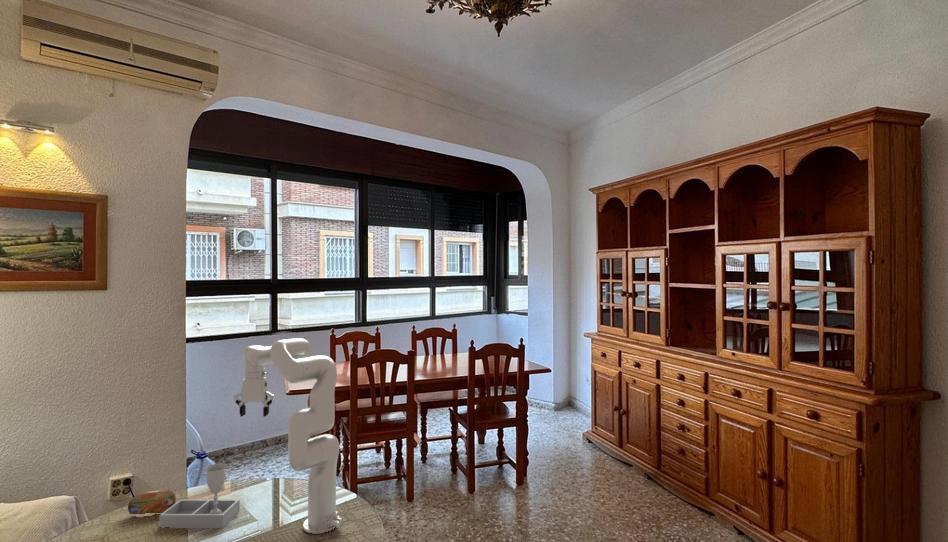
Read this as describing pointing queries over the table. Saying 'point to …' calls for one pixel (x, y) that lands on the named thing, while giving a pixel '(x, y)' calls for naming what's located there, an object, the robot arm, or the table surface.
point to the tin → (151, 502)
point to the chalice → (216, 482)
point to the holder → (199, 514)
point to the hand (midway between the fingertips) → (254, 415)
